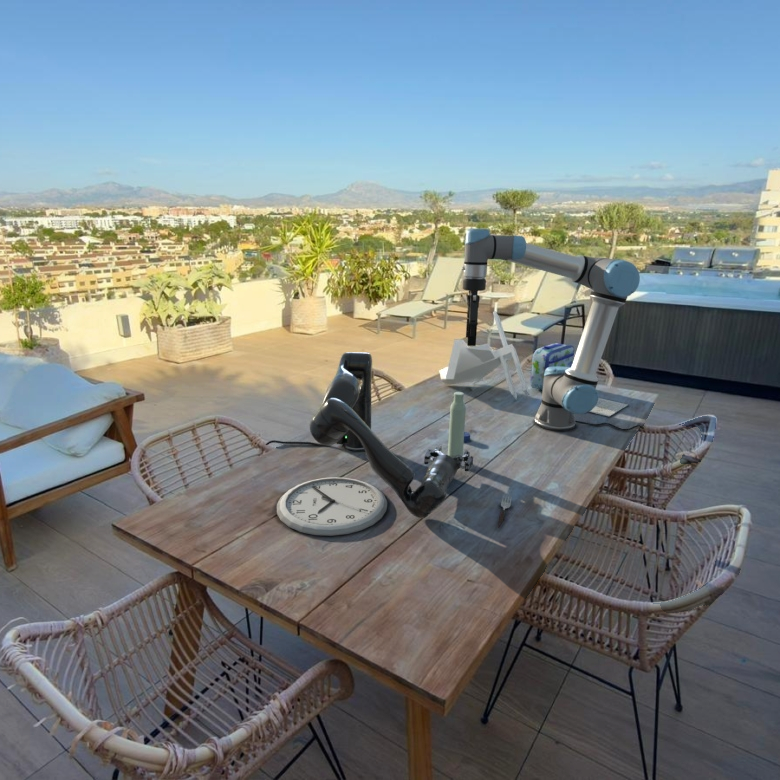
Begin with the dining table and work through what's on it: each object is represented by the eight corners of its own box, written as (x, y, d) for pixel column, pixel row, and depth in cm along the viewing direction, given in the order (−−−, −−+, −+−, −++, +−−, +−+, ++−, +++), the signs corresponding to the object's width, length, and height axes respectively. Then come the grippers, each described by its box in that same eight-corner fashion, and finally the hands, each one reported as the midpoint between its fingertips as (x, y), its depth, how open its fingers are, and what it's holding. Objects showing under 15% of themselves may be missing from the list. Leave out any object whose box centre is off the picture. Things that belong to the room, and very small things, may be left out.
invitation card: (608, 416, 214) (573, 407, 224) (608, 416, 214) (573, 408, 224) (628, 404, 229) (594, 396, 238) (628, 405, 229) (594, 397, 238)
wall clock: (392, 527, 129) (268, 531, 127) (391, 533, 130) (269, 537, 127) (383, 473, 158) (282, 475, 155) (383, 478, 158) (282, 480, 156)
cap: (461, 436, 191) (462, 430, 191) (472, 439, 189) (472, 433, 188) (455, 440, 188) (456, 434, 187) (466, 443, 186) (466, 437, 185)
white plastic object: (461, 429, 252) (437, 405, 227) (444, 352, 274) (420, 323, 250) (535, 404, 240) (518, 377, 215) (510, 326, 262) (492, 293, 237)
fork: (493, 528, 133) (493, 521, 132) (502, 499, 147) (503, 492, 147) (503, 530, 132) (504, 523, 131) (511, 500, 146) (512, 494, 146)
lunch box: (546, 395, 240) (551, 350, 234) (526, 389, 248) (530, 346, 241) (573, 384, 258) (578, 342, 252) (553, 379, 265) (558, 339, 259)
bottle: (458, 465, 168) (462, 396, 161) (444, 462, 170) (448, 393, 163) (464, 460, 172) (469, 392, 165) (451, 456, 174) (455, 390, 167)
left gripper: (416, 479, 154) (431, 457, 168) (464, 488, 149) (475, 465, 164) (418, 456, 151) (432, 436, 166) (466, 464, 147) (477, 443, 162)
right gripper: (462, 274, 183) (458, 333, 190) (464, 281, 160) (460, 348, 166) (483, 274, 183) (479, 334, 189) (489, 281, 159) (484, 349, 165)
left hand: (453, 450), depth 165 cm, fingers open, 8 cm apart
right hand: (470, 341), depth 178 cm, fingers open, 13 cm apart
